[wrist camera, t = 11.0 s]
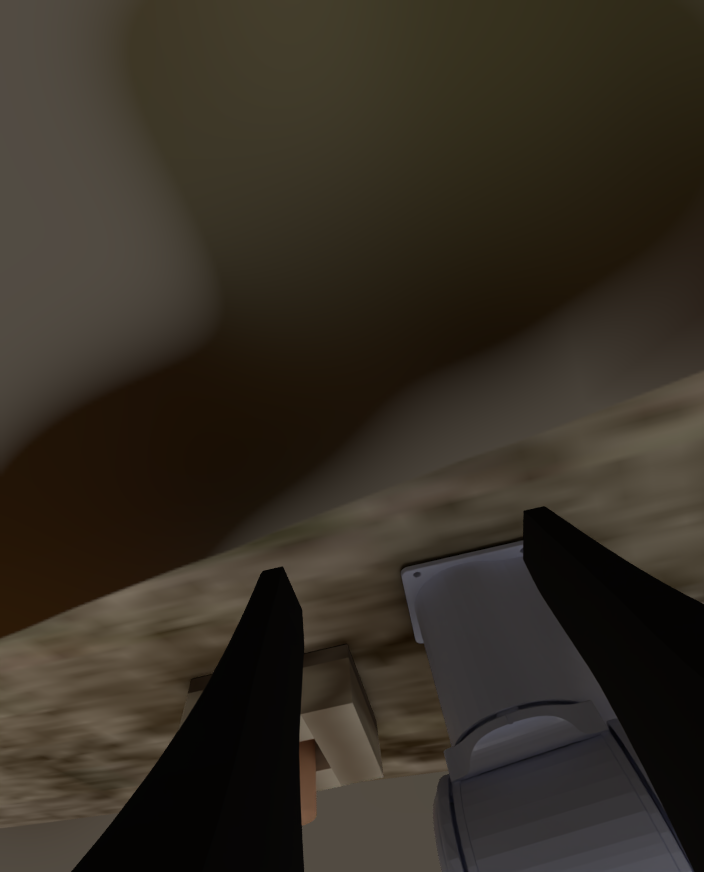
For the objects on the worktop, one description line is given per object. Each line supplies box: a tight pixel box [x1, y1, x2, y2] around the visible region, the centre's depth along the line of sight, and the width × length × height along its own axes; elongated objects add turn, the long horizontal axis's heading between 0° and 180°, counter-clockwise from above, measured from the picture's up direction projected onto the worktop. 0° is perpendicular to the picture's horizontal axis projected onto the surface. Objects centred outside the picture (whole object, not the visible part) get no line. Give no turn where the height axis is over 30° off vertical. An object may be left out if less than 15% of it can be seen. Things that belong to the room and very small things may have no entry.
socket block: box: [179, 644, 384, 792], centre depth 30 cm, size 12×12×4 cm
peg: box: [299, 739, 317, 825], centre depth 28 cm, size 4×4×6 cm
